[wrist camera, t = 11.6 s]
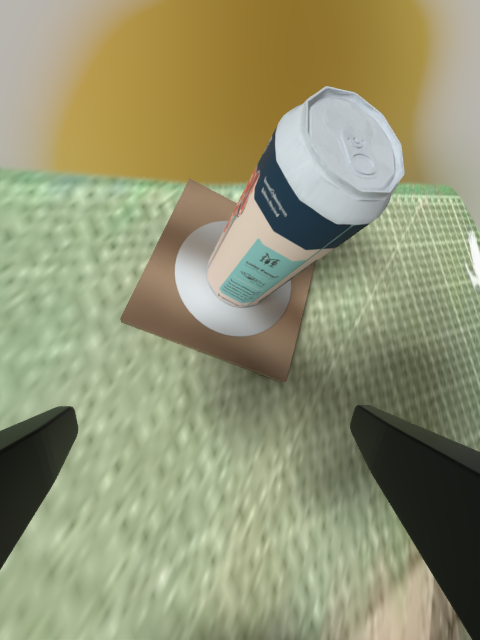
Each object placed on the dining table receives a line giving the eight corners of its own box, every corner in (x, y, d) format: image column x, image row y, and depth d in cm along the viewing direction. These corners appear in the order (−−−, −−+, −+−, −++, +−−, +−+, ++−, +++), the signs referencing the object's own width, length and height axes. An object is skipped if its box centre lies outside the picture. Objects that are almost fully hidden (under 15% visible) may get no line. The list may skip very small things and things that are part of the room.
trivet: (279, 381, 20) (287, 381, 19) (121, 322, 17) (119, 318, 16) (312, 252, 24) (320, 246, 23) (187, 187, 21) (189, 176, 20)
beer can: (258, 246, 20) (388, 88, 9) (273, 305, 20) (432, 207, 9) (198, 250, 19) (273, 61, 8) (212, 314, 18) (316, 206, 7)
